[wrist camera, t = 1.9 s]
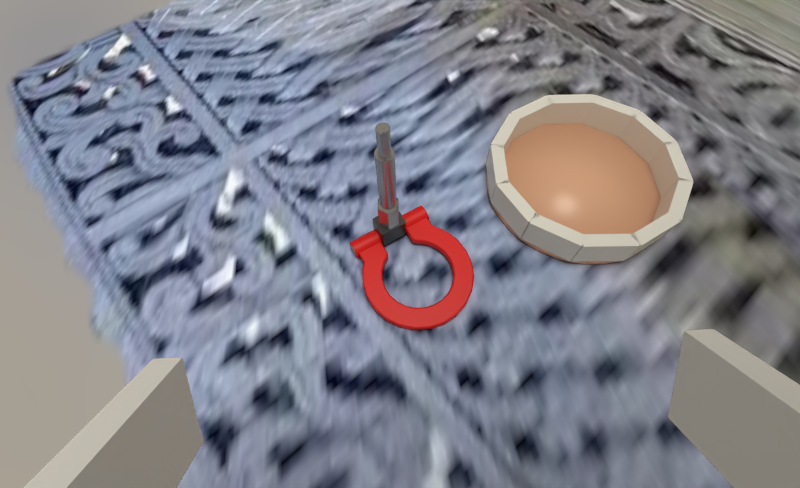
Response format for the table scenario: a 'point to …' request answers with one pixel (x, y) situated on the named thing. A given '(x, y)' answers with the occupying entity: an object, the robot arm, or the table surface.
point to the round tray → (586, 178)
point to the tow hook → (419, 232)
